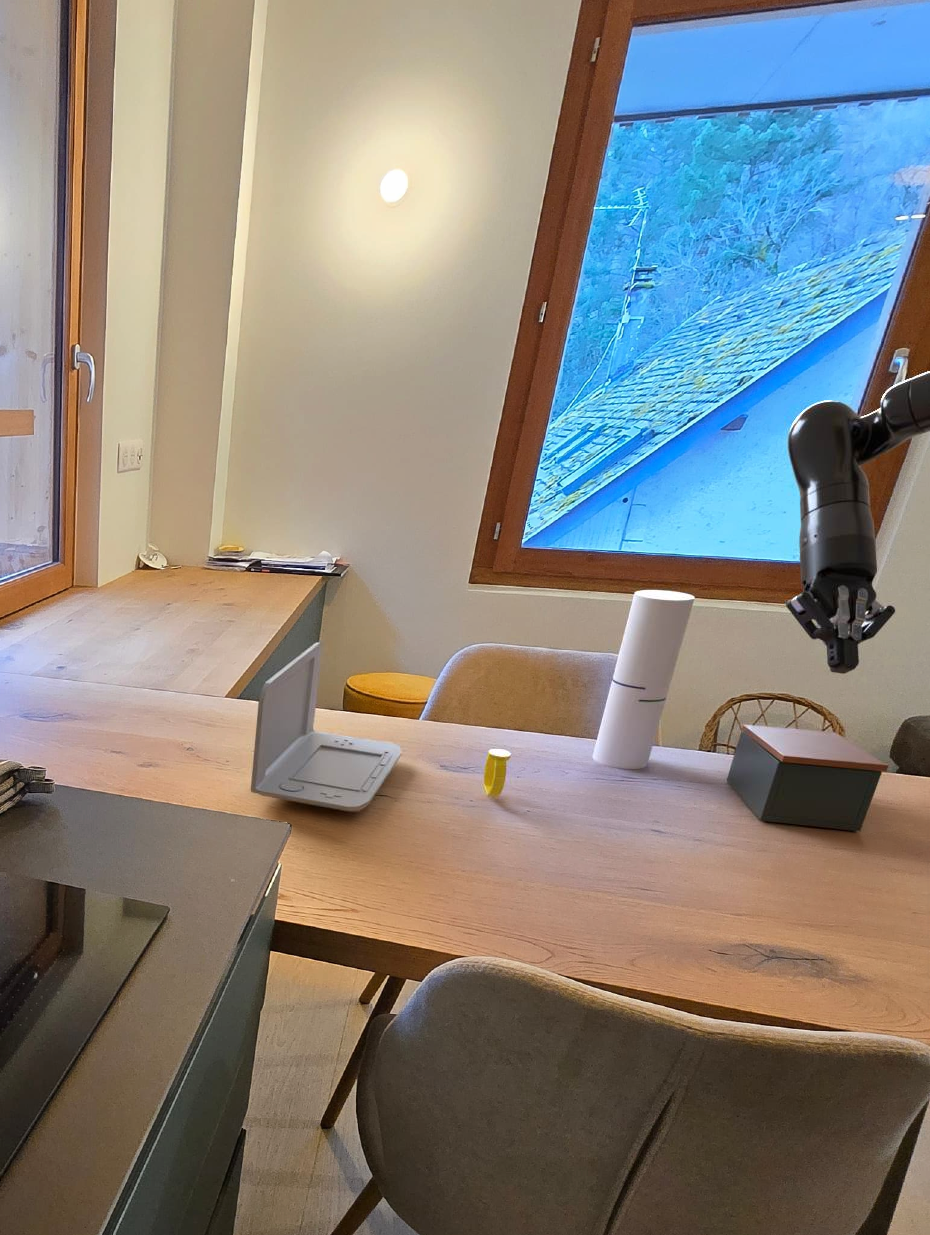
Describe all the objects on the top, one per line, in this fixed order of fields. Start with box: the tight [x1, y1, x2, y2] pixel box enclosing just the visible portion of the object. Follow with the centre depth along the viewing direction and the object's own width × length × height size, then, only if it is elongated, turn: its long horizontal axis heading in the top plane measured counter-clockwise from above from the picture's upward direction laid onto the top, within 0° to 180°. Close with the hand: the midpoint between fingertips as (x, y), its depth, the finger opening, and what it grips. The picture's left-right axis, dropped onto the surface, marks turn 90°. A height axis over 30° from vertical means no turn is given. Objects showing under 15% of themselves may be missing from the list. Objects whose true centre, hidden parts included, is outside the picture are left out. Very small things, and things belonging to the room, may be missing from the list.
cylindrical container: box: [592, 589, 695, 770], centre depth 138 cm, size 7×7×25 cm
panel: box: [741, 724, 889, 772], centre depth 124 cm, size 16×11×1 cm, turn 160°
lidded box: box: [726, 730, 883, 832], centre depth 126 cm, size 16×11×8 cm
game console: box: [250, 641, 403, 813], centre depth 134 cm, size 28×15×15 cm, turn 149°
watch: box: [483, 748, 512, 797], centre depth 130 cm, size 6×3×6 cm, turn 167°
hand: (843, 670), depth 121 cm, fingers closed
